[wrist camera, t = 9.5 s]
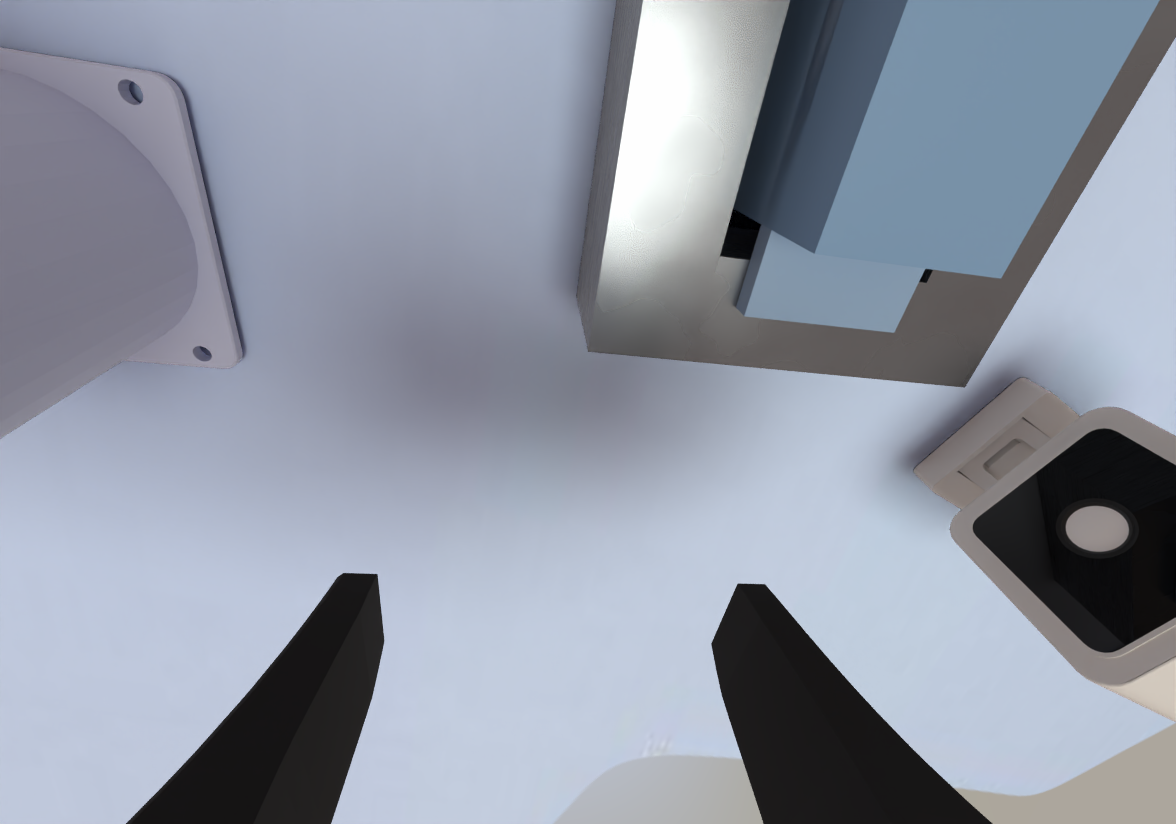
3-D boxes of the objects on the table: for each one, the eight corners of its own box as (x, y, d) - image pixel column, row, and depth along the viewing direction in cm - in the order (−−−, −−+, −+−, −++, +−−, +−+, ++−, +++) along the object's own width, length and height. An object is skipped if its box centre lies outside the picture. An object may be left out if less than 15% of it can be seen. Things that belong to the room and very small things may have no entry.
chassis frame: (576, 295, 17) (588, 351, 13) (663, -347, 10) (738, -606, 6) (878, 329, 18) (964, 387, 15) (1128, -202, 12) (1402, -340, 8)
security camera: (1010, 348, 19) (1386, 546, 11) (1099, 424, 22) (1462, 634, 13) (880, 464, 22) (1102, 698, 13) (973, 520, 24) (1210, 749, 16)
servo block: (689, 259, 16) (778, 352, 10) (800, -193, 11) (1100, -522, 5) (804, 273, 17) (949, 369, 11) (958, -150, 12) (1386, -399, 6)
